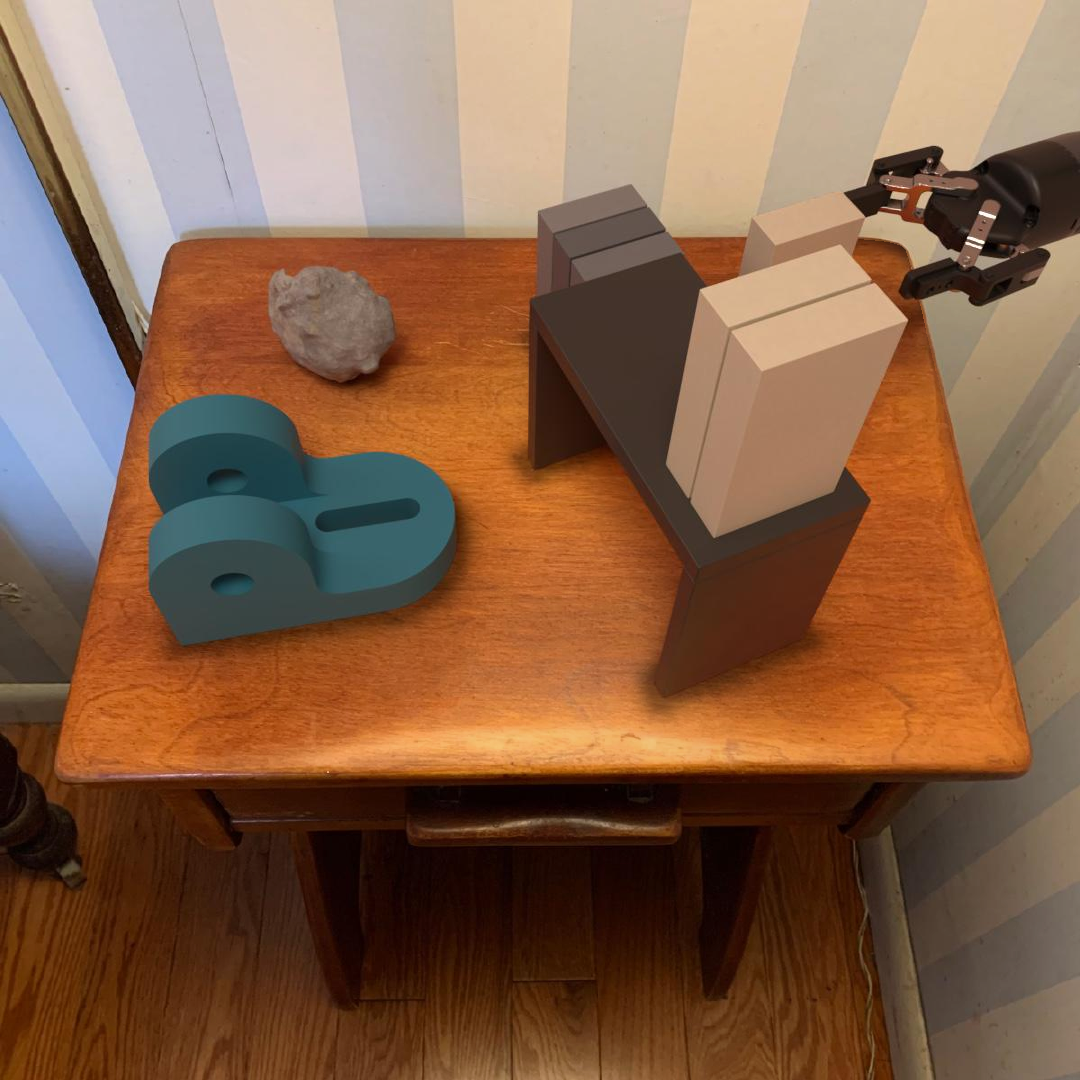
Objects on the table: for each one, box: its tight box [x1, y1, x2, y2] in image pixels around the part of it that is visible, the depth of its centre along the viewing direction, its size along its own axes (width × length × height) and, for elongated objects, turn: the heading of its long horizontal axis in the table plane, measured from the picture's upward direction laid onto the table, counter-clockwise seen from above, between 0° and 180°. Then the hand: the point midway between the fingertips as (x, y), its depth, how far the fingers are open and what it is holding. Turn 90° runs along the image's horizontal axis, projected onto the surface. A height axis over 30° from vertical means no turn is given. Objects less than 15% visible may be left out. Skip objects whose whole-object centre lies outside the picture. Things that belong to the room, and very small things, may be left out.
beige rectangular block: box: [737, 189, 866, 277], centre depth 73 cm, size 3×7×12 cm, turn 114°
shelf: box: [527, 252, 872, 699], centre depth 62 cm, size 20×10×15 cm, turn 24°
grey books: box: [535, 183, 686, 297], centre depth 72 cm, size 8×7×12 cm
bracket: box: [148, 393, 458, 647], centre depth 63 cm, size 18×10×10 cm, turn 102°
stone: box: [267, 265, 397, 384], centre depth 72 cm, size 9×7×10 cm
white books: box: [666, 245, 909, 538], centre depth 47 cm, size 5×7×12 cm
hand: (869, 248), depth 74 cm, fingers open, 8 cm apart
